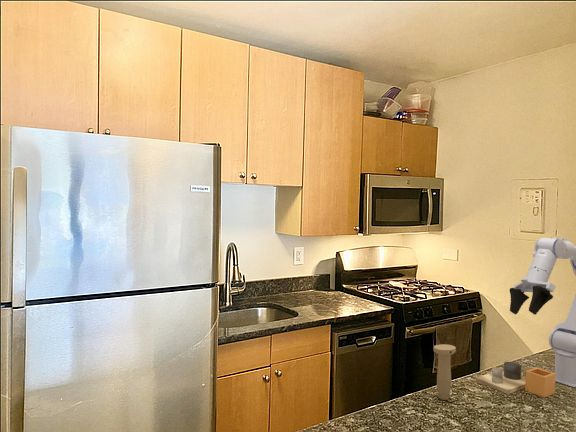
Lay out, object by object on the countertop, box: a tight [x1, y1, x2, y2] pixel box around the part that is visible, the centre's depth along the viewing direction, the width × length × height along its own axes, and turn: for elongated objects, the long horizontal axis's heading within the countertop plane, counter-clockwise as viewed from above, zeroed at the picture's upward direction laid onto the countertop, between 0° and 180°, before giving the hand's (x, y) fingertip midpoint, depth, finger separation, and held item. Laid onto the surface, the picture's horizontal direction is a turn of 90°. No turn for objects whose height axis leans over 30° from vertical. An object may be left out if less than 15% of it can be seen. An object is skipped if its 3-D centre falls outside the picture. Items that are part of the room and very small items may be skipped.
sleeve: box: [524, 367, 556, 399], centre depth 135 cm, size 6×6×6 cm
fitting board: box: [474, 361, 526, 395], centre depth 142 cm, size 14×11×5 cm
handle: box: [433, 343, 457, 401], centre depth 130 cm, size 5×6×15 cm
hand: (522, 312), depth 129 cm, fingers open, 7 cm apart
